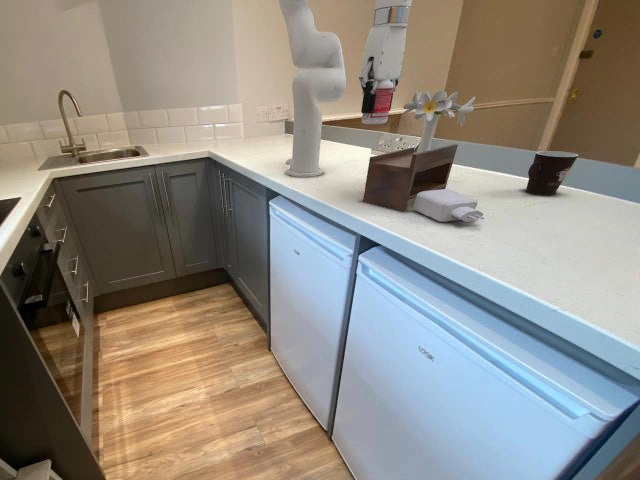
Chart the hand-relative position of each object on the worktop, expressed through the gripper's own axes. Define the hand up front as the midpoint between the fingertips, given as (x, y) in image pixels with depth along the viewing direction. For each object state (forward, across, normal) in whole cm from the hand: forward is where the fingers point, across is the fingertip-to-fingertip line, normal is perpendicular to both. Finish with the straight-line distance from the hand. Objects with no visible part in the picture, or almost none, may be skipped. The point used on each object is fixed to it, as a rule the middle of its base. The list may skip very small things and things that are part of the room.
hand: (375, 111), depth 85 cm
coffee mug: (+21, -36, +30) cm, 52 cm away
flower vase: (+22, -26, +2) cm, 34 cm away
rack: (+21, -6, +9) cm, 24 cm away
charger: (+21, +1, +25) cm, 33 cm away
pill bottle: (+3, 0, 0) cm, 3 cm away
